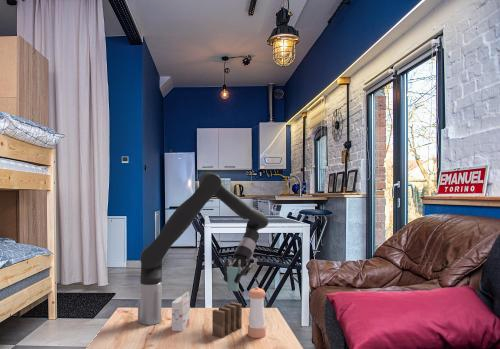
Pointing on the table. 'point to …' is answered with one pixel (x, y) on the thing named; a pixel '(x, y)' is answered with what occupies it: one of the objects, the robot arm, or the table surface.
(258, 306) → the pepper shaker
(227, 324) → the walnut tile
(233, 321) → the walnut tile
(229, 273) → the teal tile
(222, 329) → the walnut tile
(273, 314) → the table surface
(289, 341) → the table surface
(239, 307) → the walnut tile
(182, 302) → the ink cartridge box
